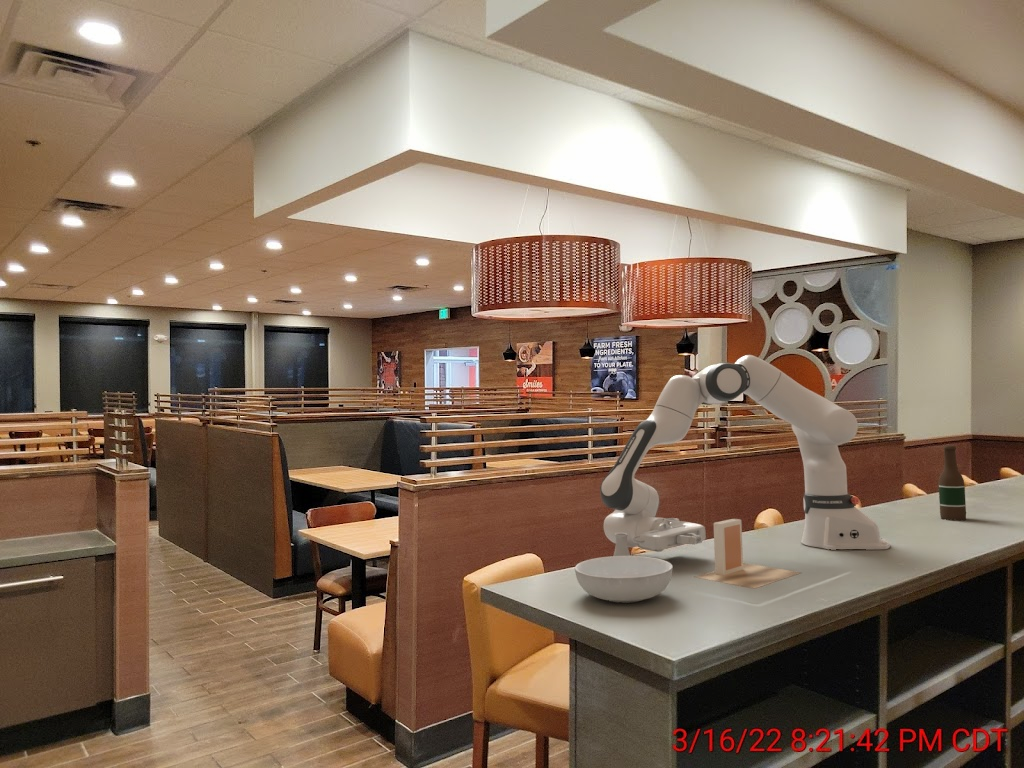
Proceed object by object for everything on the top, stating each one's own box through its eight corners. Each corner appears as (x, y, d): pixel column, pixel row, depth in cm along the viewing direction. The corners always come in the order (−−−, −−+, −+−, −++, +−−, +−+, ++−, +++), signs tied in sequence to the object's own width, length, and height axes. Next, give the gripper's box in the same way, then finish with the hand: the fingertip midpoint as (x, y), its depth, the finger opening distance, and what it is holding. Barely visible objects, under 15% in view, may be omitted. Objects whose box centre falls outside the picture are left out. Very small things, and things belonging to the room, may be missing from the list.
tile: (715, 573, 176) (713, 522, 176) (734, 567, 181) (732, 518, 181) (724, 575, 174) (722, 524, 174) (743, 569, 179) (741, 519, 179)
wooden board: (693, 578, 173) (693, 576, 173) (742, 564, 186) (741, 562, 186) (754, 590, 161) (754, 588, 161) (801, 574, 174) (801, 572, 174)
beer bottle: (944, 516, 248) (941, 444, 248) (970, 518, 242) (967, 445, 242) (935, 519, 243) (932, 446, 243) (961, 521, 237) (958, 446, 237)
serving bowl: (590, 583, 173) (589, 553, 173) (680, 588, 165) (679, 557, 165) (563, 607, 153) (562, 573, 154) (664, 614, 146) (663, 579, 146)
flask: (637, 579, 175) (635, 536, 175) (606, 578, 177) (605, 536, 177) (638, 572, 182) (636, 531, 182) (608, 571, 184) (607, 531, 184)
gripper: (628, 527, 188) (672, 533, 178) (678, 517, 201) (721, 522, 191) (629, 552, 188) (673, 559, 177) (679, 540, 201) (722, 546, 191)
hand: (698, 540), depth 184 cm, fingers closed
